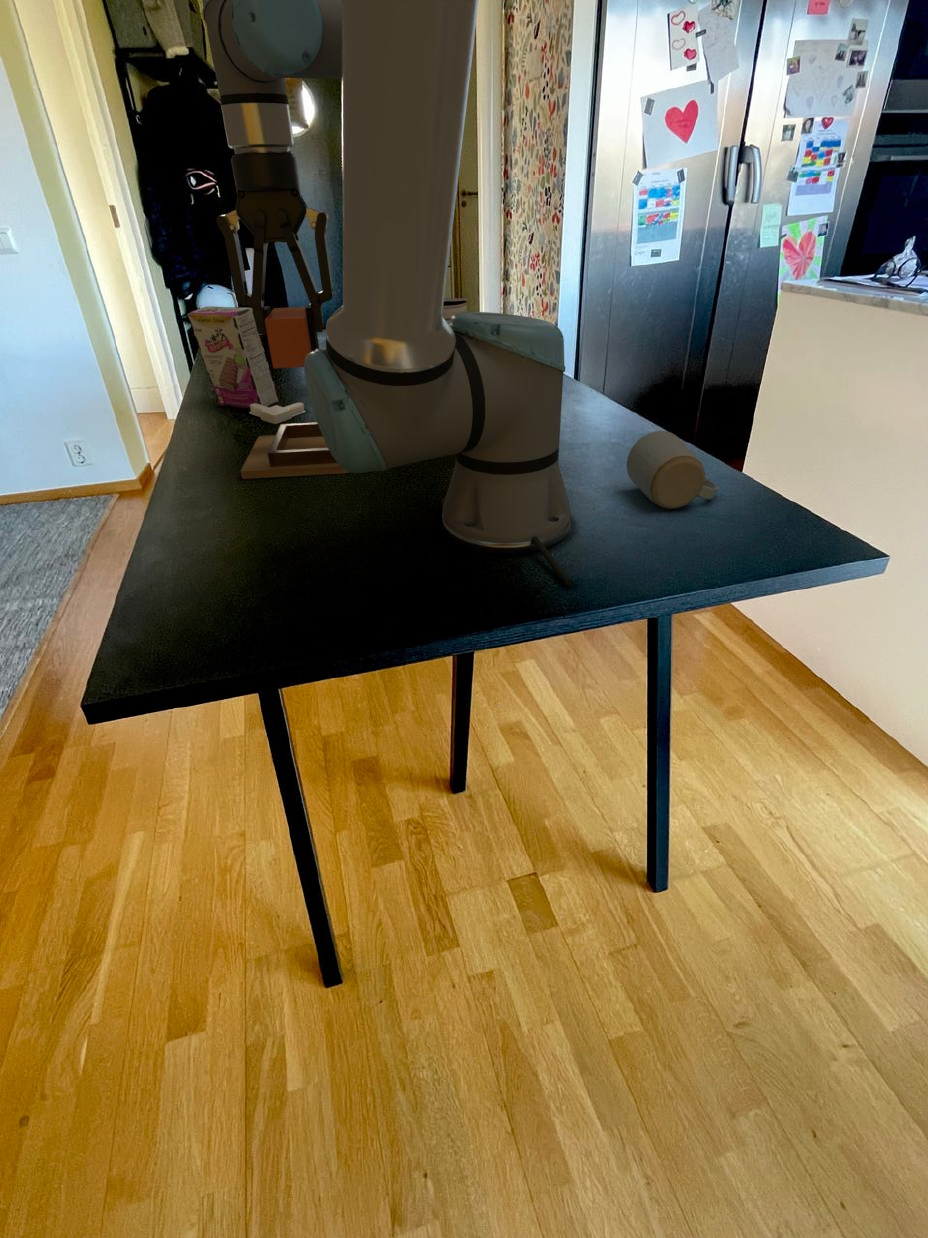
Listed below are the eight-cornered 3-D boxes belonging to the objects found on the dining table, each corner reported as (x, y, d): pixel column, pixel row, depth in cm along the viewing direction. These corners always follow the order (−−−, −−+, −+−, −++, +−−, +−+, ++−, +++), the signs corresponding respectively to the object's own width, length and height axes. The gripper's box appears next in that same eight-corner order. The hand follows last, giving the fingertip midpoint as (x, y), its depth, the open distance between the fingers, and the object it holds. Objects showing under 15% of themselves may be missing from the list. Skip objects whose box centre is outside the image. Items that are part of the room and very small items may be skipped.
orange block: (311, 366, 88) (304, 317, 85) (273, 368, 88) (264, 319, 84) (317, 352, 95) (310, 306, 91) (281, 353, 94) (273, 308, 91)
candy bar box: (217, 406, 123) (185, 313, 113) (236, 397, 127) (206, 305, 117) (262, 411, 119) (232, 314, 109) (280, 401, 122) (253, 305, 112)
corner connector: (279, 402, 123) (278, 393, 122) (309, 412, 120) (308, 403, 119) (244, 413, 118) (243, 404, 117) (275, 424, 114) (274, 415, 113)
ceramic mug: (647, 515, 80) (657, 454, 76) (622, 489, 87) (629, 431, 83) (728, 507, 82) (742, 447, 78) (697, 482, 89) (708, 425, 84)
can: (410, 355, 153) (406, 298, 147) (439, 345, 161) (437, 291, 154) (450, 361, 148) (448, 302, 141) (478, 350, 155) (477, 294, 149)
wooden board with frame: (369, 472, 95) (367, 450, 93) (242, 479, 94) (237, 457, 92) (372, 437, 107) (370, 417, 105) (260, 443, 106) (256, 423, 104)
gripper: (341, 149, 81) (362, 349, 95) (192, 153, 80) (234, 354, 94) (337, 148, 75) (360, 362, 89) (175, 152, 74) (223, 368, 87)
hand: (295, 358), depth 91 cm, fingers closed on orange block, 5 cm apart
